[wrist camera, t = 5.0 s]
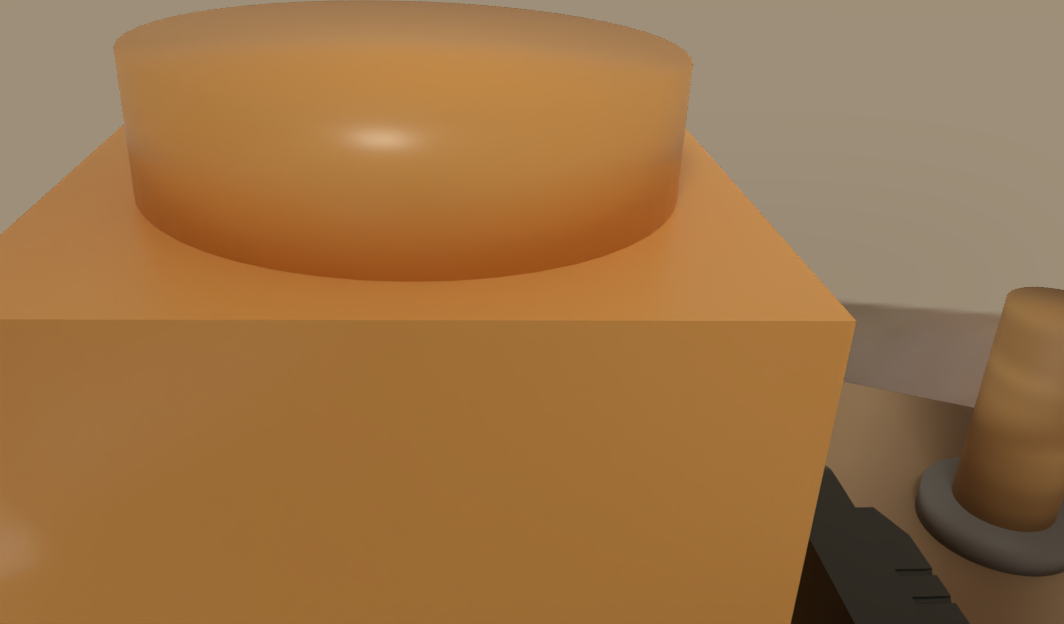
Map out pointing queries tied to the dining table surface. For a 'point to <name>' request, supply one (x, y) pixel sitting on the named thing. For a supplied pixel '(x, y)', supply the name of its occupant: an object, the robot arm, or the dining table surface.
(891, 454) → the board
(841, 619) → the robot arm
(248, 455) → the orange toy brick
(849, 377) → the dining table surface
